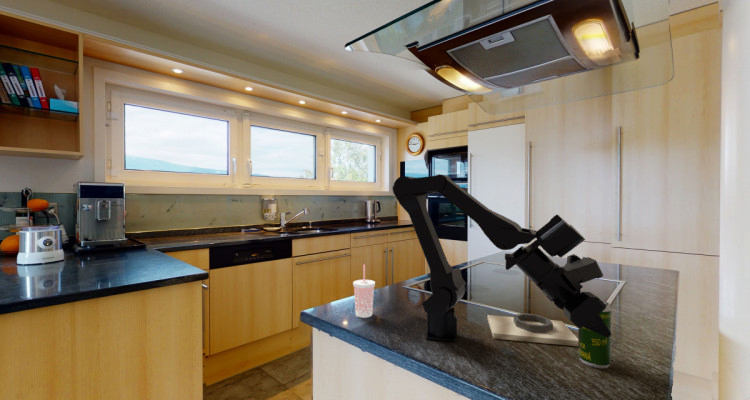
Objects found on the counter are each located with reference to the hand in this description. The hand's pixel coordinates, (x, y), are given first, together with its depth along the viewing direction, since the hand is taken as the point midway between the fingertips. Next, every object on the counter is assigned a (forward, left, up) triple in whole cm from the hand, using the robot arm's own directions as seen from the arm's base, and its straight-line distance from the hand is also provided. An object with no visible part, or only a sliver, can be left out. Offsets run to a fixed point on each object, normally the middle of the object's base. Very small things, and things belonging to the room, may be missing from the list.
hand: (602, 329), depth 64 cm
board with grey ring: (-10, +13, -7) cm, 18 cm away
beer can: (-1, 0, -7) cm, 7 cm away
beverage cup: (-52, +15, -7) cm, 55 cm away
